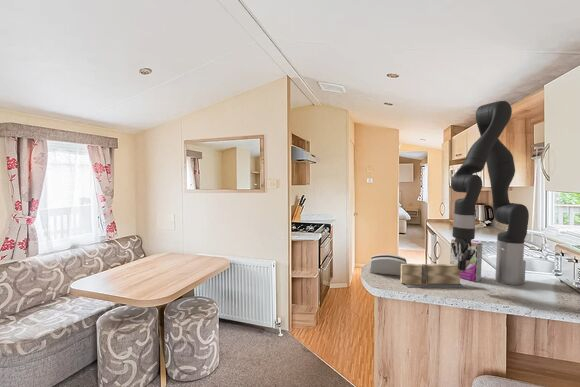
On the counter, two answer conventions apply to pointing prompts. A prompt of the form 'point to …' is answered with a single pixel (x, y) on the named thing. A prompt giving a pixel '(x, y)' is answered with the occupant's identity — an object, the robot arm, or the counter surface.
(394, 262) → the white plastic device
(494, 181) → the robot arm
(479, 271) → the candy bar box
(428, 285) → the mat
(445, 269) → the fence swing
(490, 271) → the counter surface
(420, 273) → the fence fixed
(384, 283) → the counter surface
